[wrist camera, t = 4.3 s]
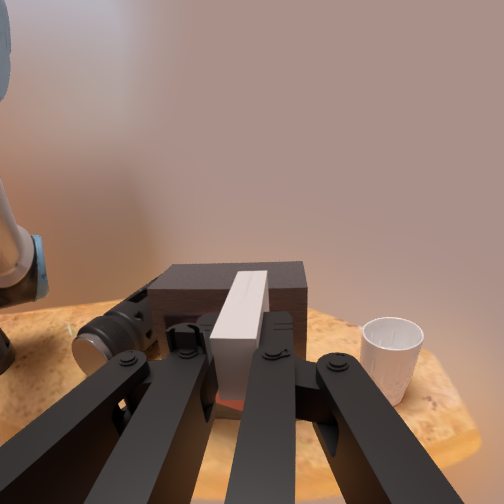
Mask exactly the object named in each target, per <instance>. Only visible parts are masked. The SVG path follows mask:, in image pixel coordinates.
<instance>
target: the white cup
mask: <svg viewBox="0 0 504 504" xmlns="http://www.w3.org/2000/svg"><path fill="white" fill-rule="evenodd" d="M423 338H424V334H423V331H422V329H421V328H420V327H418V326H417V325H416V324H415V323H413V322H411V321H408V320H405V319H401V318H395V317H384V318H378V319H374V320H372V321H370V322H368V323H367V324H365V326H364V327H363V329H362V341H361V352H360V364H361V365H362V367H363V368H364V369H365V371H366V372H367V373H368V375H369V376H370V377H371V378H372V380H373V381H374V382H375V384H376V385H377V386H378V388H379V389H380V390H381V392H382V393H383V394H384V396H385V397H386V398H387V399H388V401H389V402H390V403H391V405H392V406H393V407H394V406H395V405H397V404H398V403H400V402H401V400H402V398H403V396H404V394H405V391H406V388H407V386H408V385H409V382H410V379H411V377H412V374H413V371H414V368H415V365H416V362H417V359H418V356H419V352H420V349H421V345H422V342H423Z"/></svg>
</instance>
